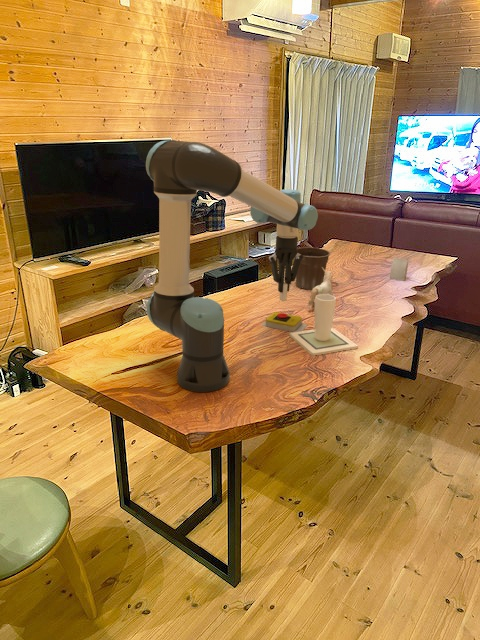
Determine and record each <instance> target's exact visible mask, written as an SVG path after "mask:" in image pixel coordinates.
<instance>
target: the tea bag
mask: <svg viewBox="0 0 480 640" xmlns="http://www.w3.org/2000/svg"><path fill="white" fill-rule="evenodd" d="M408 264H409V259H404V258H398V257H393V258H392V263H391V267H390V272H389V279H390V280H395V281H400V282H404V281H406V280H407V274H408V273H407V272H408V267H409V265H408Z"/></svg>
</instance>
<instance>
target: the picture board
mask: <svg viewBox="0 0 480 640" xmlns="http://www.w3.org/2000/svg"><path fill="white" fill-rule="evenodd" d="M314 333H315V328H314V329H306V330H302V331H300V332H289V333H288V336H289V337H290V339H292V340H293V341H295V342H296V343H297V344H298V345H299V346H300V347H301V348H302V349H304V350H305V351H306V352H307V353H308V354H309V355H311V357H316V356H315V355H317V356H322V355H321V354H323V355H327V354H326V353H329V354H332V353H331V352H335V353H339V352H338V351H341V352H344V351H343V350H346V351H351V350H350V349H352V350H357V349H356V348H359V345H357V344H356V343H355V342H354V341H352V340H350V339H349V338H348V337H347V336H345V335H343V334H342V333H341V332H339V331H338V330H336V329H335V328H334V327H333V326H332V327H331V333H330V339H329V340H327V341H319V340H316V339H315V337H314Z"/></svg>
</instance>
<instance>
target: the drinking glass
mask: <svg viewBox="0 0 480 640" xmlns="http://www.w3.org/2000/svg"><path fill="white" fill-rule="evenodd" d="M336 300H337V298H336V296H335V295H333V296H332V295H330V294H329V293H327V294H320V295H316V297H315V300H314V302H315V306H314V307H313V308H314V309H313V310H314V311H313V313H314V317H313V318H314V329H315V333H314V337H315V339H316V340H319V341H327V340H329V339H330V333H331V327H332V328H333V323H334V316H335V311H336V302H337V301H336Z"/></svg>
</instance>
